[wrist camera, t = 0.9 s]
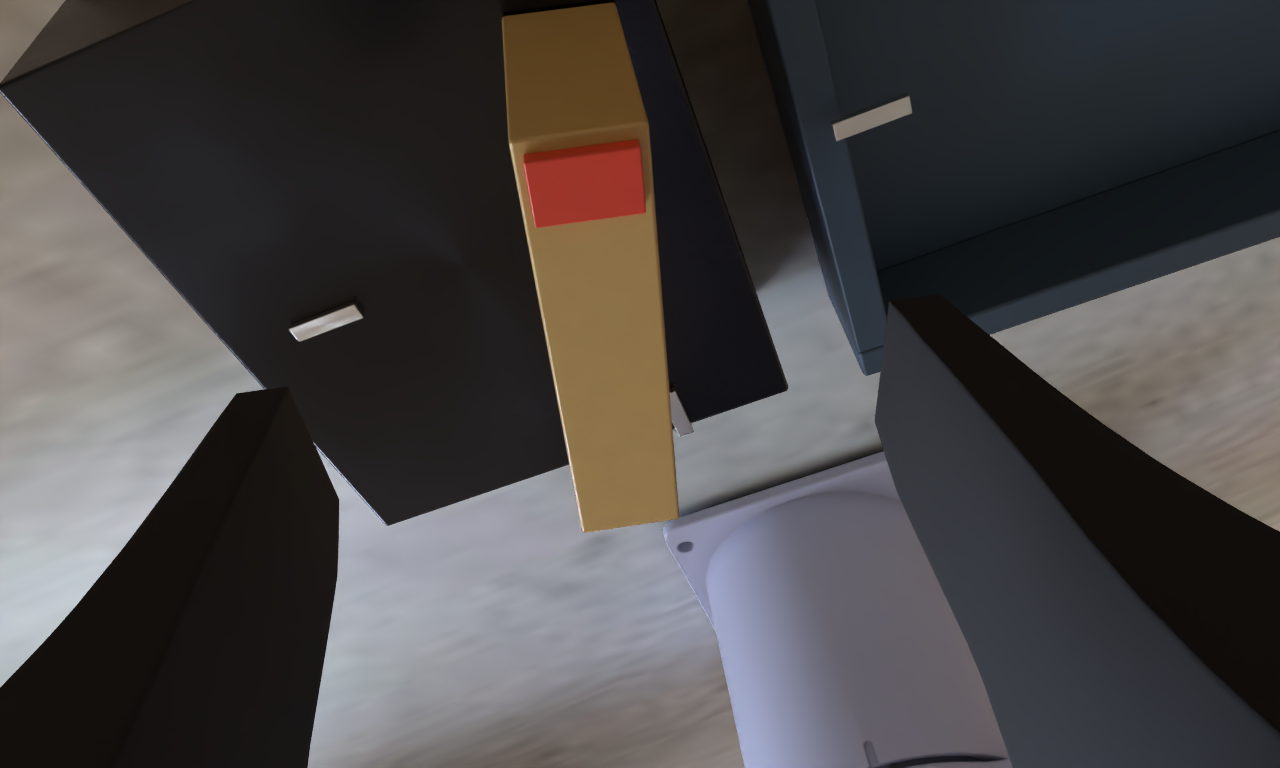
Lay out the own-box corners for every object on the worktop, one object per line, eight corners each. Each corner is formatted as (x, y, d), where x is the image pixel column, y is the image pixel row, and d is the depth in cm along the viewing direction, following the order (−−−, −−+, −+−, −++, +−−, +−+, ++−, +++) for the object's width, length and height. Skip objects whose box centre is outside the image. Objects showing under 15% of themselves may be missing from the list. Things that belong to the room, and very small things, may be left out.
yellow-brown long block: (650, 374, 21) (681, 530, 18) (567, 386, 21) (583, 545, 18) (615, 0, 15) (651, 131, 12) (500, 15, 15) (508, 149, 12)
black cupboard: (396, 426, 26) (388, 535, 23) (58, -5, 17) (-16, 87, 15) (897, 249, 24) (951, 345, 21) (782, -327, 16) (845, -289, 13)
